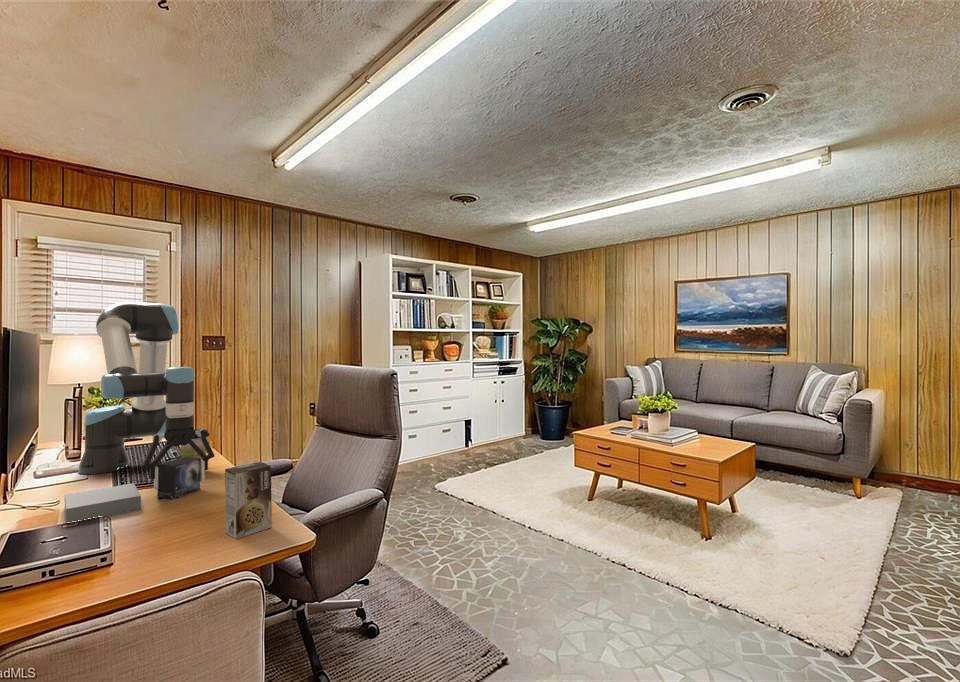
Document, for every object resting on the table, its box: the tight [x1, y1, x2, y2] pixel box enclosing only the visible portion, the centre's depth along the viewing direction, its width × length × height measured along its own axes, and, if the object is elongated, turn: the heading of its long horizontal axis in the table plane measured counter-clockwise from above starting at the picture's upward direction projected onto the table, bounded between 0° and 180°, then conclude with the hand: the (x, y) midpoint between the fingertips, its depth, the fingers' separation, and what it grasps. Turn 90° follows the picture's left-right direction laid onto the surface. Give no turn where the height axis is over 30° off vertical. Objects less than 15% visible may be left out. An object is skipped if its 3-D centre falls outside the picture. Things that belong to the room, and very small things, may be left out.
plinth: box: [64, 483, 142, 524], centre depth 134 cm, size 16×16×4 cm
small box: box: [156, 456, 201, 500], centre depth 147 cm, size 11×6×10 cm, turn 168°
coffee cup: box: [179, 428, 210, 460], centre depth 172 cm, size 10×10×15 cm
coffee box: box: [224, 461, 273, 539], centre depth 118 cm, size 9×6×16 cm
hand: (179, 484), depth 147 cm, fingers closed on small box, 12 cm apart
